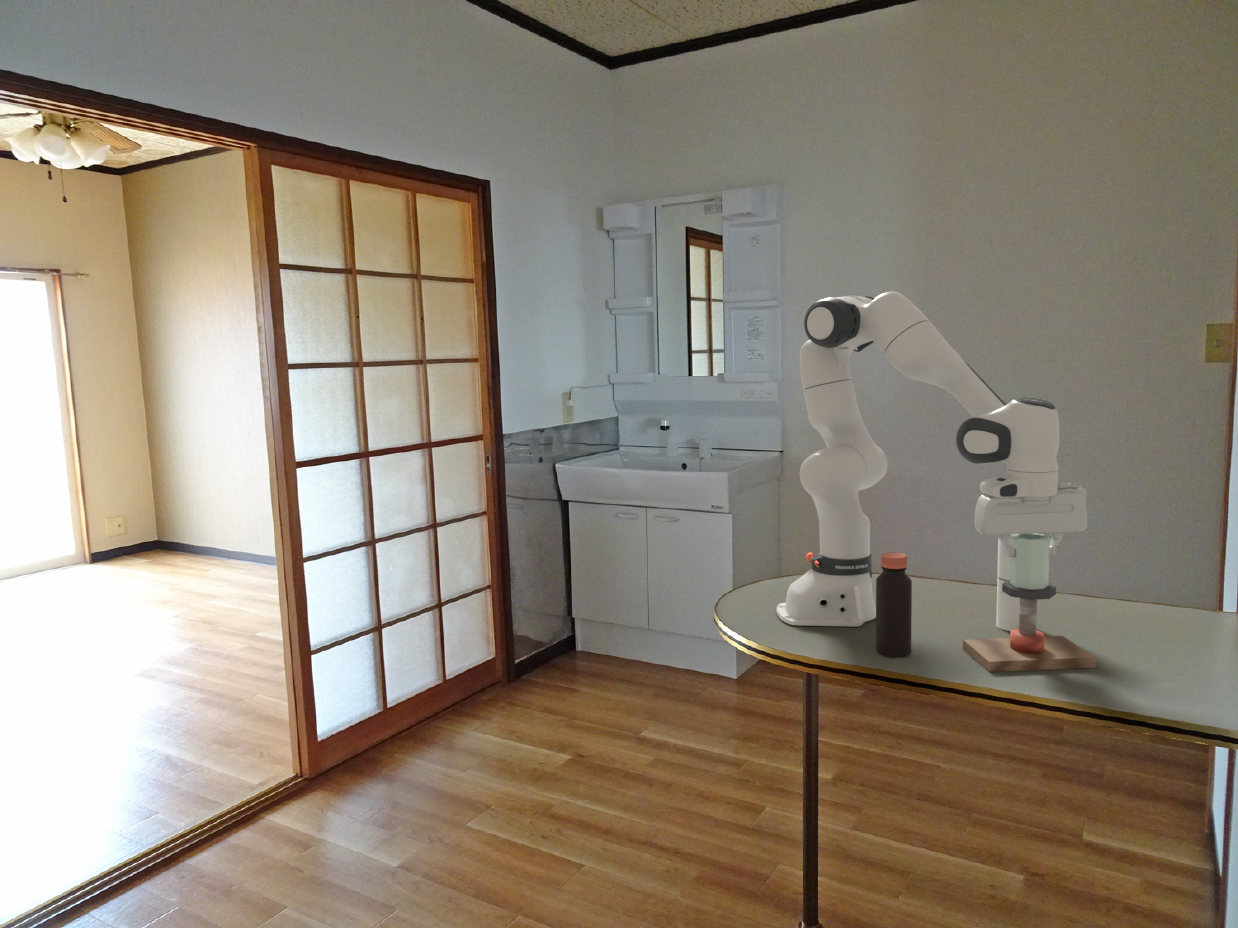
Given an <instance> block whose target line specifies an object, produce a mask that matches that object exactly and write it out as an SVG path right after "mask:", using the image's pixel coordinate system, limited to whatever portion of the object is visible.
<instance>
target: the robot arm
mask: <svg viewBox="0 0 1238 928" xmlns="http://www.w3.org/2000/svg"><path fill="white" fill-rule="evenodd" d="M803 321H804V322H803V326H804V332H805V334H806V337H807V338H808V340H807V341H805V343H803V344H802V346H801V347H800V350H799V371H800V373H799V374H800V380H801V386H802V391H803V392H802V393H803V397H804V403H805V406H806V411H807V415H808V416H807V417H808V421H809V424H810V426H812V427H813V428H814V429H815V430H816V431H817V432H818V433H819V435H820V436H821V438H822V440H823V441H824V443H825V446H826V448H822V449H820V450H817V451H816V452H814V453H812V454H811V455H809V456H808V457H807V458H805V459H804V461H803V462H802V463H801V466H800V468H799V479H800V484H801V486H802V487H803V489H804V491H805V492H806V493H808V494H809V496H810V497H811V499H812V500H813V503H814V506H815V509H816V514H817V518H818V525H819V526H818V527H819V531H818V532H819V552H818V553H816V554H814V553H813V552H807V553H806V554H805V559H806V560H807V561H808V562H809V563H810V567H811V569H809V570H808V571H807V572H806V573H804V574H803V575H801V576H800V577H798V578H797V579H796V580H795V581H793V582H791V583H790V585H789V587H788V590H787V591H786V592H787V594H786V599H785V602H781V603H778V604H777V606H776V615H777V616H778V618H779V620H781V621H782V622H784V623H785V624H787V625H790V626H791V625H792V626H805V627H806V626H809V627H812V626H815V627H817V626H818V627H854V628H855V627H861V626H862V625H864V624H865V623H866V622H869V621H872V620H874V619H876V603H875V600H874V595H873V589H872V588H873V587H872V578H873V555H872V553H871V522H870V518H869V517H868V516H867V515H866V514H865V513H864V511H863V509H862V507H861V504H860V499H859V491H863V490H867V489H869V488H871V487H872V486H874V485H876V484H877V483H879V482H880V481H881V480H882V479H883V478H884V477H885V475H886V473H887V470H888V459H887V456H886V454H885V451H883V450H882V449H881V448H880V446H878V445H877V444H876V443H875V442H874V440H873V439H872V437H871V435H870V433H869V431H868V429H867V427H866V425H865V423H864V421H863V418H862V415H861V413H860V409H859V405H858V399H857V396H856V391H855V385H854V381H853V376H852V372H851V367H850V357H851V354H852V353H853V352H857V353H859V352H861V351H863V350H865V348H867V347H868V346H870V345H872V344H876V346H877V347H878V348H879V350H880V351H881V352H882V353H883V355H884V356H885V357H886V359H887V360H888V362H889V363H890V364H891V365H892V366H893V368H895V370H897V371H898V372H899V373H900V374H902V375H903V376H904V377H905V378H907V379H909V380H912V381H917V382H921V383H926V384H928V385H929V384H930V385H933V386H936V387H939V388H940V389H942V390H945V391H946V392H948V393H949V394H951V395H952V396H953V397H954V398H955V399H956V400H957V401H958V402H959V404H961V405H962V406H963V408H964V409H965V410H966V411H967V412H968V413H969V414H970V416H972V417H970V418H968V419H966V420H964V422H962V423H961V424H960V425H959V428H958V429H957V431H956V435H955V436H956V437H955V443H956V448H957V450H958V452H959V454H960V456H961V457H962V458H964V459H965V461H968V462H969V463H971V464H977V465H989V464H993V463H994V464H995V463H999V462H1001V463H1004V464H1005V465H1006V472H1005V473H1003V474H1001V475H998V476H995V477H992V478H989V479H986V480H983V481H982V482H980V485H979V490H980V492H981V493H982V494H981V495H980V496H979V497H978V498H977V500H976V505H975V510H974V529H975V530H976V531H977V533H979V534H981V535H982V536H983V535H984V536H998V538H999V540H1000V541H1001V543H1002V545H1003V546H1004V555H1005V556H1006V557H1015V556H1016V554H1015V552H1016V548H1014V547H1012V546H1010V544H1009V542H1008V540H1010V539H1011V534H1034V533H1038V534H1049V537H1050V552H1049V557H1050V556H1056V554H1057V546H1059V544H1060V542H1061V541H1062V539H1063V537H1064V536H1063V534H1064V533H1077V532H1078V533H1080V532H1084V531H1085V530H1086V528H1087V527H1088V510H1087V504H1086V502H1087V496H1088V495H1087V493H1088V492H1087V489H1086V487H1085V486H1084V485H1081V484H1080V482H1070V483H1066V482H1059V468H1060V467H1059V464H1058V461H1057V457H1058V456H1057V454H1058V451H1059V448H1060V420H1059V413H1058V410H1057V407H1056V406H1055V405H1054V404H1053V403H1051V402H1050V401H1048V400H1044V399H1041V398H1040V399H1039V398H1035V397H1026V396H1025V397H1024V396H1022V397H1017V398H1014V399H1012V400H1011V401H1010V402H1009V403H1006V402H1005V401H1004V400H1003V398H1001V397H1000V396H999V395H998V394H997V393H996V392H995V391H994V390H993V389H992V387H990V386H989V385H988V384H987V382H986V381H985V380H984V379H983V378H982V377H981V376H980V375H979V374H978V373H977V372H976V371H975V370H974V368H972V367H971V365H970V364H968V363H967V362H966V361H965V360H964V358H962V357H961V355H960V354H959V353H957V351H956V350H955V349H954V348H953V347H952V346H951V345H950V344H949V342H948V341H947V340H946V339H945V338H944V336H942V334H941V332H940V331H939V330H938V329H937V328H936V327H935V325H933V323H932V322H931V320H929V318H928V317H927V316H926V314H924V313H923V312H922V311H921V310H920V309H919V307H917V306H916V305H915V304H914V303H913V302H912V301H911V300H910V299H909V298H907V297H906V296H904V294H902V293H900V292H898V291H887V292H884V293H883V292H882V293H881V294H879V295H877V296H876V297H871V296H868V295H867V296H866V295H863V296H860V295H843V296H838V297H826V298H822V299H819V300H817V301H815V303H813V304H811V306H809V308H808V310H807V311H806V312H805V315H804V320H803Z"/></svg>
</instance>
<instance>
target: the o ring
mask: <svg viewBox="0 0 1238 928" xmlns="http://www.w3.org/2000/svg"><path fill="white" fill-rule="evenodd" d="M1002 591H1003V592H1004V593H1006V594H1008V595H1009V596H1011V597H1017V598H1023V599H1028V600H1037V601H1038V600H1049V599H1052V598H1053V597H1054V596H1056V593H1057V586H1055V585H1053V584H1051V583H1050V582H1049V583H1048V587H1046V588H1044V589H1033V590H1029V589H1023V588H1017V587H1015V586H1013V585H1011V584H1010V579H1009V580H1008V581H1006V582H1004V583H1002Z"/></svg>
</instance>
